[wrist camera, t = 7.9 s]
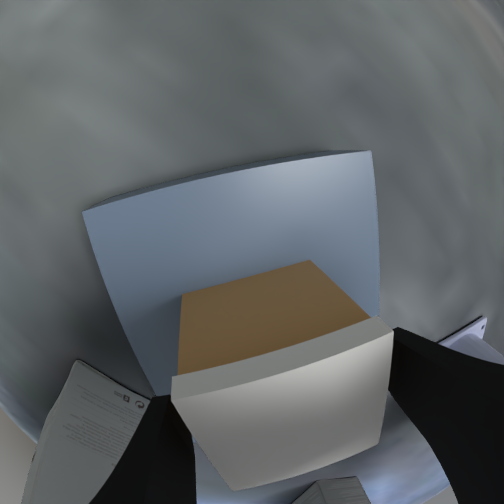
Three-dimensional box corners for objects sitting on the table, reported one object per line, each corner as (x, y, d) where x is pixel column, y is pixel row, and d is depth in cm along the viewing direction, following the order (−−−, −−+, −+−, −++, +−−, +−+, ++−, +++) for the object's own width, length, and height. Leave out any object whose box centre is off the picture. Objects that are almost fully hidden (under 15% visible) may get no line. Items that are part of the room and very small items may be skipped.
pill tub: (324, 357, 13) (378, 443, 8) (216, 389, 12) (232, 491, 7) (311, 256, 11) (393, 331, 6) (179, 292, 11) (170, 400, 6)
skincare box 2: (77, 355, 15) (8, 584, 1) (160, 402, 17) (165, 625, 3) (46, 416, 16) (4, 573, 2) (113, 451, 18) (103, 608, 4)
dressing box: (345, 354, 18) (372, 391, 15) (184, 396, 17) (185, 443, 14) (329, 150, 14) (371, 150, 10) (111, 197, 13) (81, 211, 9)
